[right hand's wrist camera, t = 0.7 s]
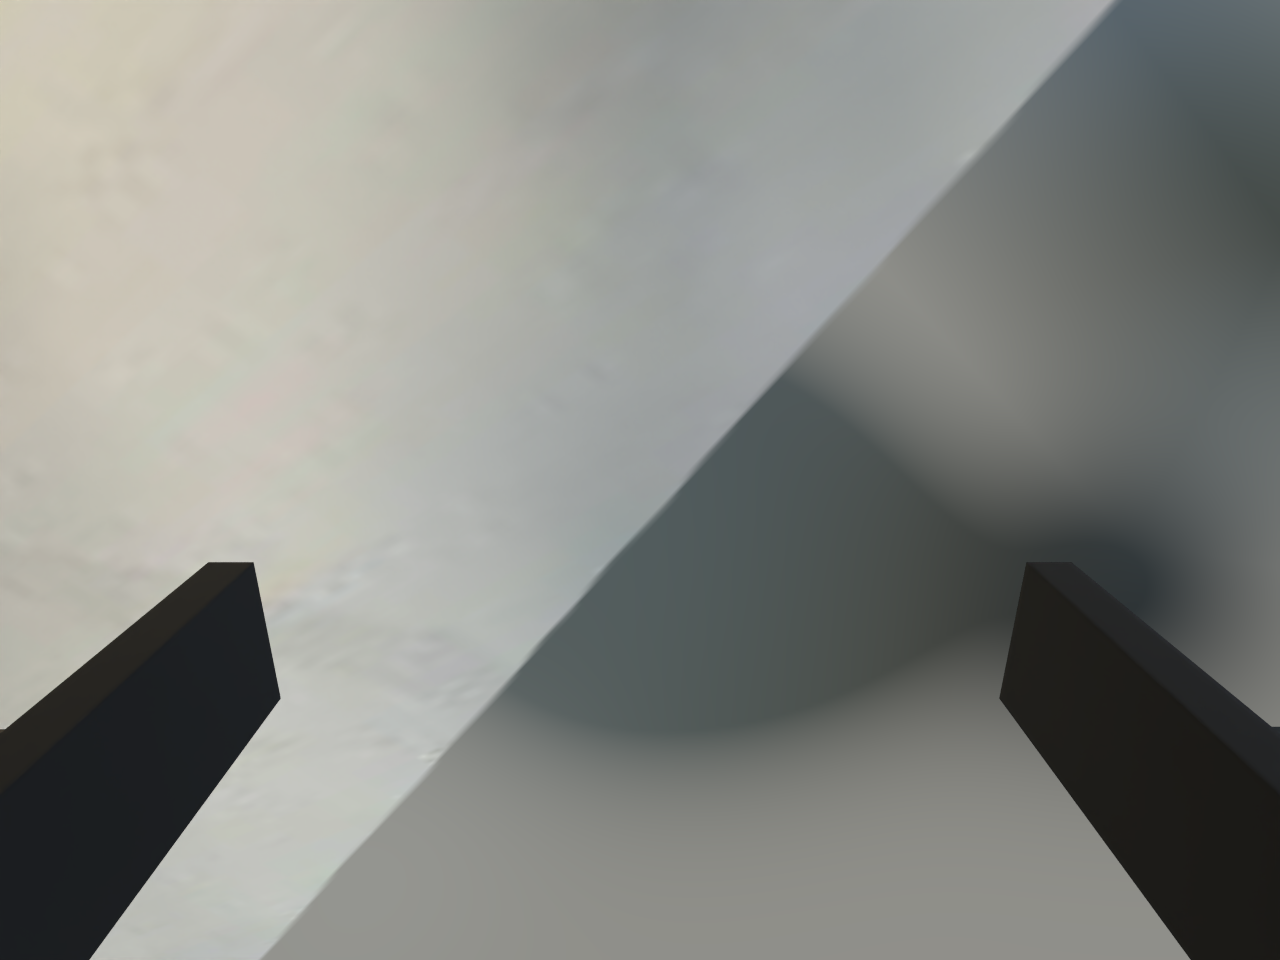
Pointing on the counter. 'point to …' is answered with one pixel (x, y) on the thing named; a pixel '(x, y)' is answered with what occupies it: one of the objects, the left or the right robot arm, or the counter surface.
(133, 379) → the counter surface
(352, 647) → the counter surface
